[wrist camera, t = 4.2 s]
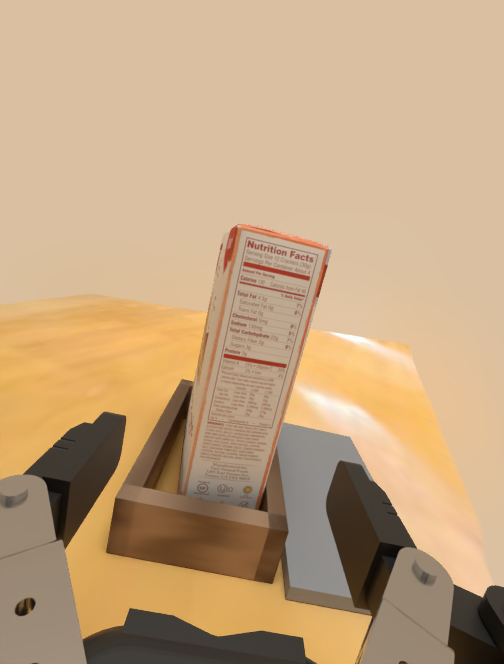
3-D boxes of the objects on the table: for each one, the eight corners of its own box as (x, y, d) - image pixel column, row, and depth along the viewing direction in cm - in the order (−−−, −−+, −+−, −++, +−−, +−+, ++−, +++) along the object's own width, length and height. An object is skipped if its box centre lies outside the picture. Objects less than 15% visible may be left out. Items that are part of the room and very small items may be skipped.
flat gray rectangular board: (286, 599, 19) (290, 586, 19) (268, 427, 39) (270, 419, 39) (441, 627, 20) (447, 616, 20) (347, 444, 39) (349, 436, 39)
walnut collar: (106, 552, 19) (115, 497, 19) (175, 410, 37) (181, 379, 36) (272, 583, 20) (288, 532, 19) (262, 429, 38) (270, 398, 37)
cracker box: (181, 424, 35) (222, 228, 30) (235, 432, 36) (282, 244, 31) (165, 536, 21) (234, 215, 17) (252, 543, 23) (339, 243, 18)
